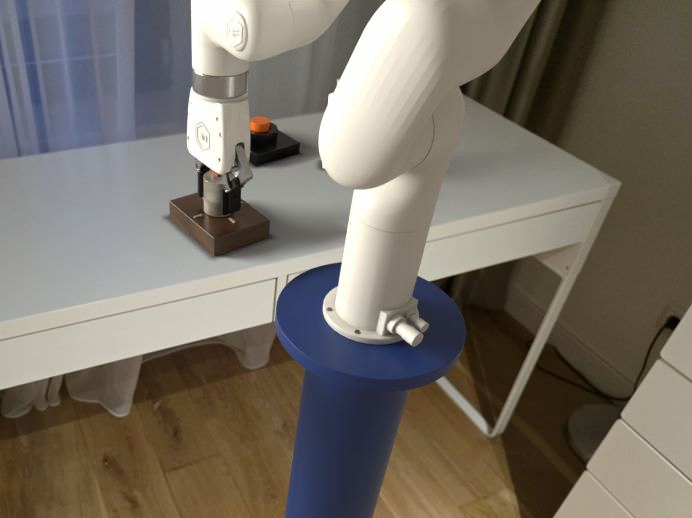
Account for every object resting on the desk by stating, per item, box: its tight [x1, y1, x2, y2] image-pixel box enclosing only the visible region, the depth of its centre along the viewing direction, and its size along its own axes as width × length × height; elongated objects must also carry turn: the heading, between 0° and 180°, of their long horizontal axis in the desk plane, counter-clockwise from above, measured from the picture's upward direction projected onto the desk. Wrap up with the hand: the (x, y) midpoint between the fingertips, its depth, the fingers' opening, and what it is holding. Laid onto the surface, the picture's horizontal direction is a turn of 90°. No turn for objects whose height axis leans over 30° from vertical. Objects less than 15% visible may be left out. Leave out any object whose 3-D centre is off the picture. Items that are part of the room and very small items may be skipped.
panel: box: [168, 191, 271, 257], centre depth 101 cm, size 13×10×3 cm
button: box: [250, 116, 271, 132], centre depth 121 cm, size 4×4×2 cm
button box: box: [249, 120, 301, 167], centre depth 122 cm, size 12×10×4 cm
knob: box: [204, 169, 235, 217], centre depth 98 cm, size 5×5×6 cm
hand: (218, 202), depth 99 cm, fingers open, 5 cm apart
